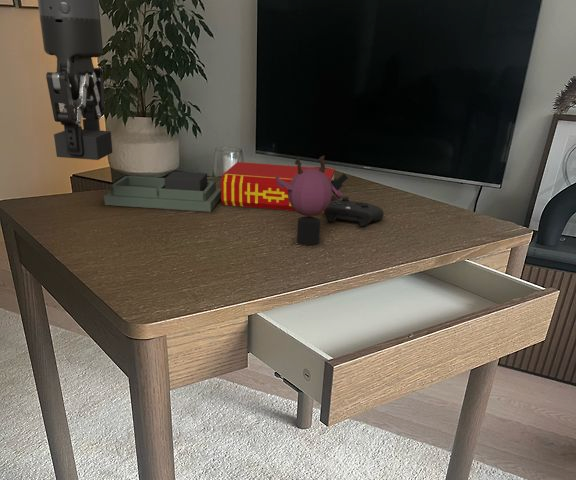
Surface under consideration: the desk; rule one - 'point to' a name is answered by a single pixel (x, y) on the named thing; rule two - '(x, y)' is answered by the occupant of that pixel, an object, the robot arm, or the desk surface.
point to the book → (260, 185)
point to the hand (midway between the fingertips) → (85, 149)
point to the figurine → (311, 198)
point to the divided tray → (160, 195)
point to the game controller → (353, 211)
